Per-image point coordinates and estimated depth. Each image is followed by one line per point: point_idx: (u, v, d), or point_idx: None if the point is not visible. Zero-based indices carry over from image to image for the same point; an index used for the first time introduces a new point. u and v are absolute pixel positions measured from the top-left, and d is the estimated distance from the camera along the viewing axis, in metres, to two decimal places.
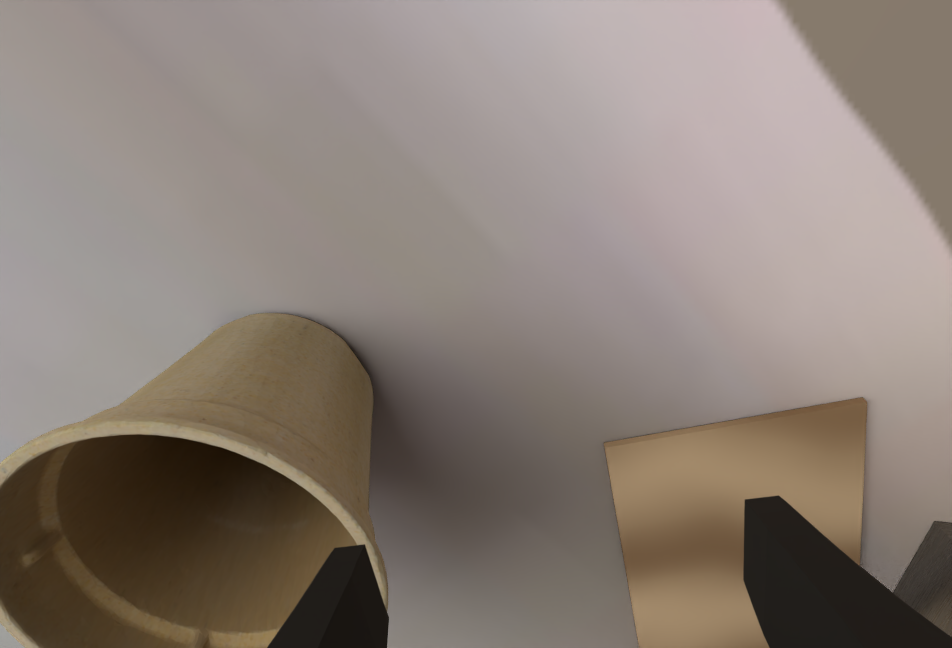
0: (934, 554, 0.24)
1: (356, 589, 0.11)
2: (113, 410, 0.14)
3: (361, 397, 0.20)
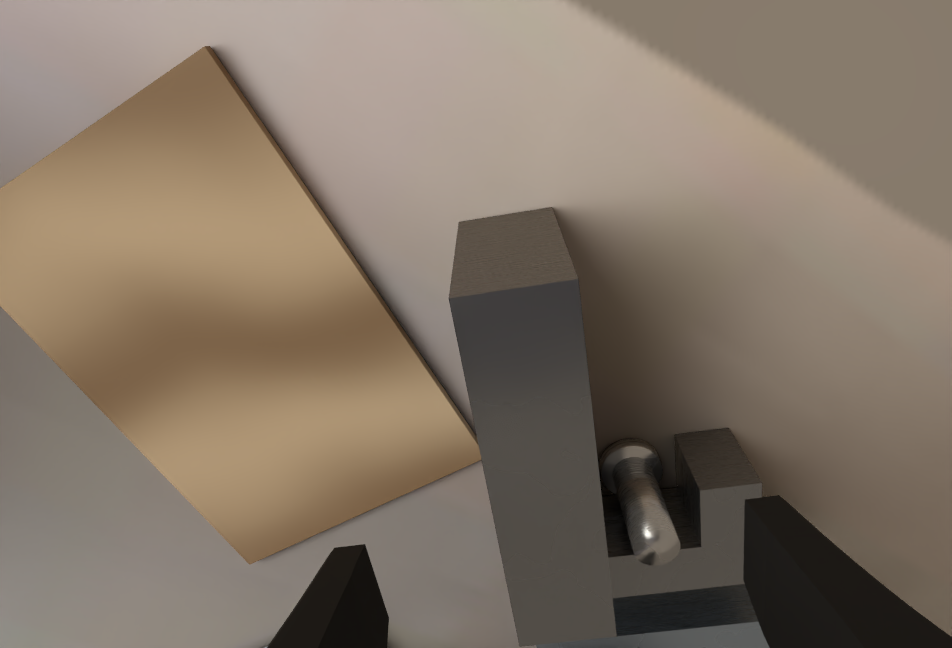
0: None
1: (356, 589, 0.11)
2: None
3: None
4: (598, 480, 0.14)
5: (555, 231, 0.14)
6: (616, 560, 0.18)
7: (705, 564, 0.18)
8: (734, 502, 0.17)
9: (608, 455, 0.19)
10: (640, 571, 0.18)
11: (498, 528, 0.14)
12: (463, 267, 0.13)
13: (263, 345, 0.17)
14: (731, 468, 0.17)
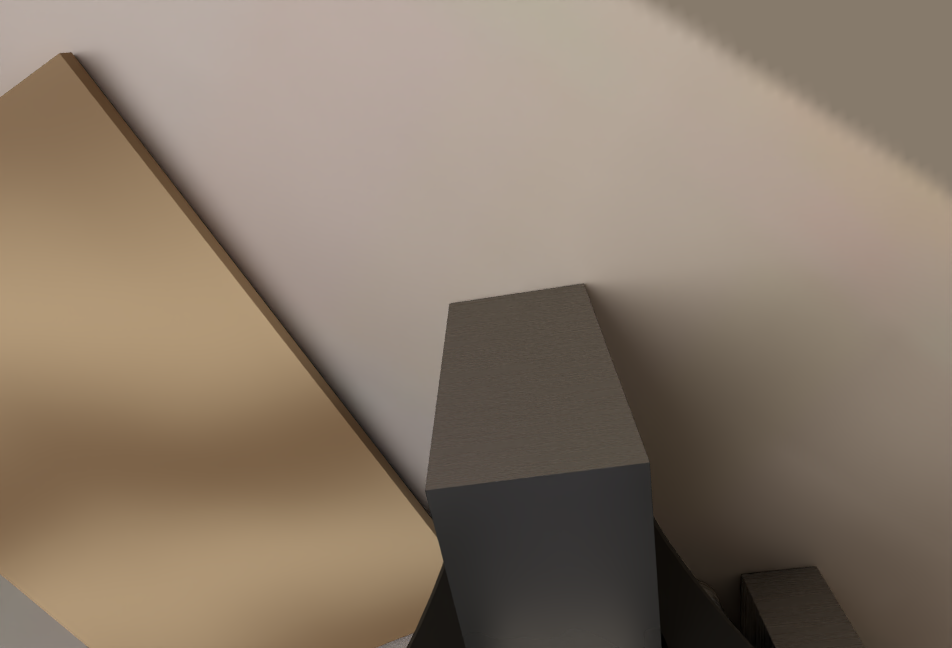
0: None
1: None
2: None
3: None
4: None
5: (595, 336, 0.09)
6: None
7: None
8: None
9: None
10: None
11: None
12: (453, 407, 0.08)
13: (179, 466, 0.13)
14: (830, 641, 0.12)
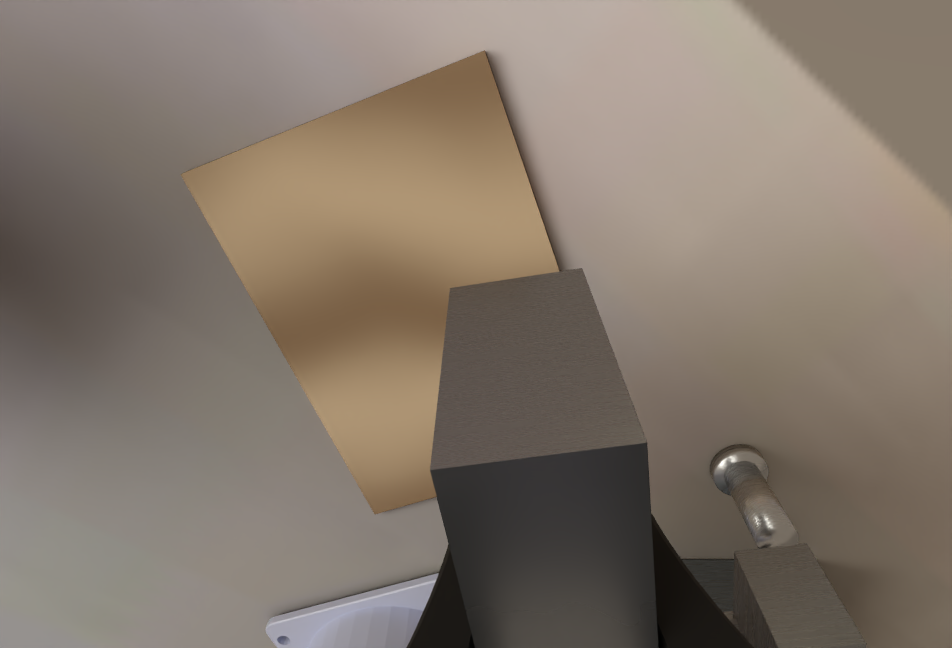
0: None
1: None
2: None
3: None
4: None
5: (593, 320, 0.10)
6: None
7: None
8: None
9: (723, 456, 0.21)
10: None
11: None
12: (456, 389, 0.08)
13: None
14: (819, 614, 0.13)
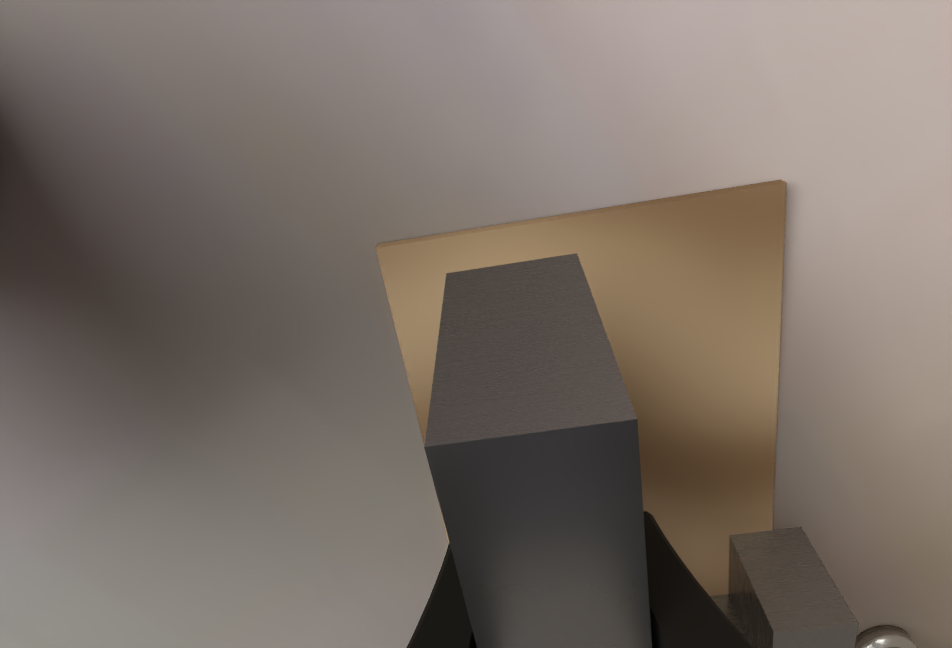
0: None
1: None
2: None
3: None
4: None
5: (587, 303, 0.10)
6: None
7: None
8: (818, 645, 0.13)
9: (875, 638, 0.19)
10: None
11: None
12: (450, 370, 0.09)
13: None
14: (812, 595, 0.13)
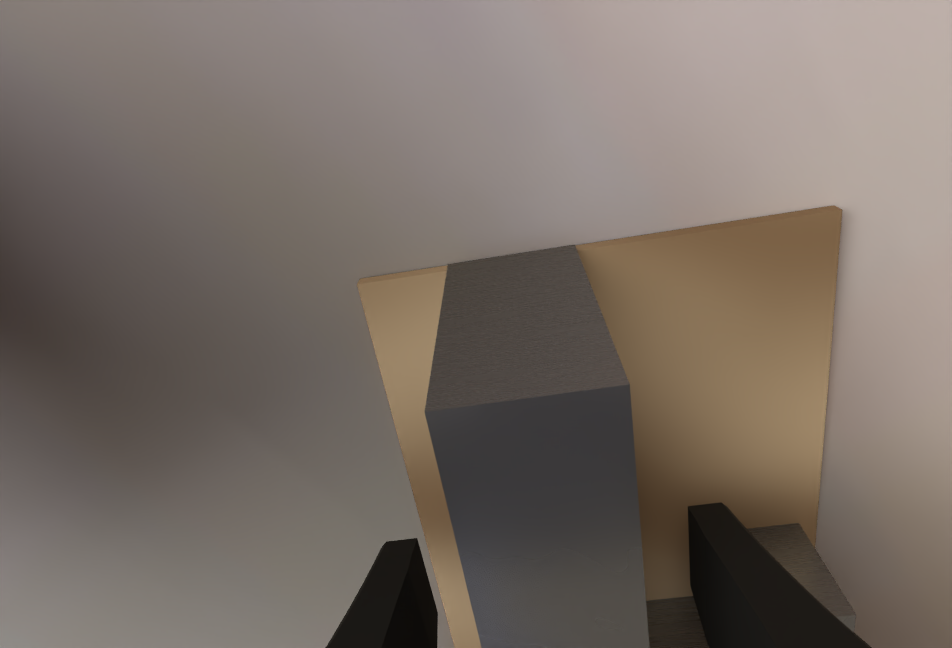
0: None
1: (412, 583, 0.11)
2: None
3: None
4: None
5: (583, 287, 0.10)
6: None
7: None
8: None
9: None
10: None
11: None
12: (451, 346, 0.09)
13: (660, 516, 0.15)
14: (810, 588, 0.13)
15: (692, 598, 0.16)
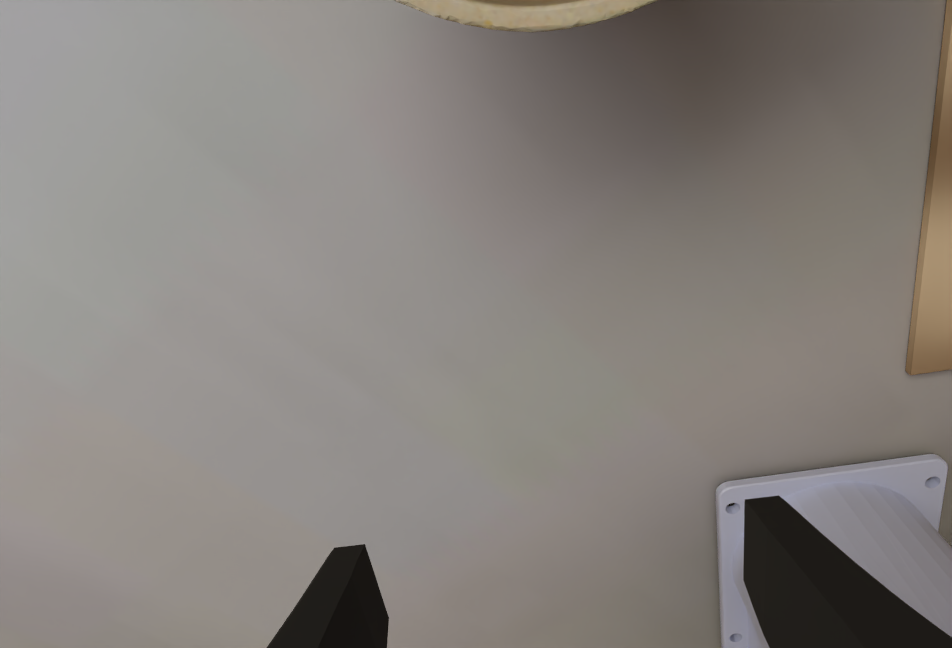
0: None
1: (356, 589, 0.11)
2: None
3: None
4: None
5: None
6: None
7: None
8: None
9: None
10: None
11: None
12: None
13: None
14: None
15: None
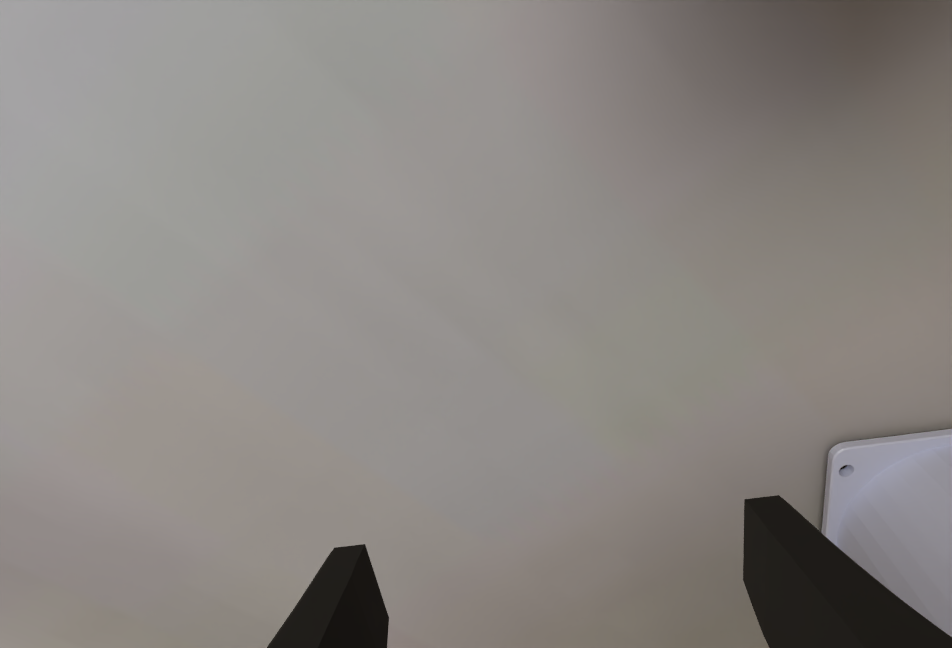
0: None
1: (356, 589, 0.11)
2: None
3: None
4: None
5: None
6: None
7: None
8: None
9: None
10: None
11: None
12: None
13: None
14: None
15: None
